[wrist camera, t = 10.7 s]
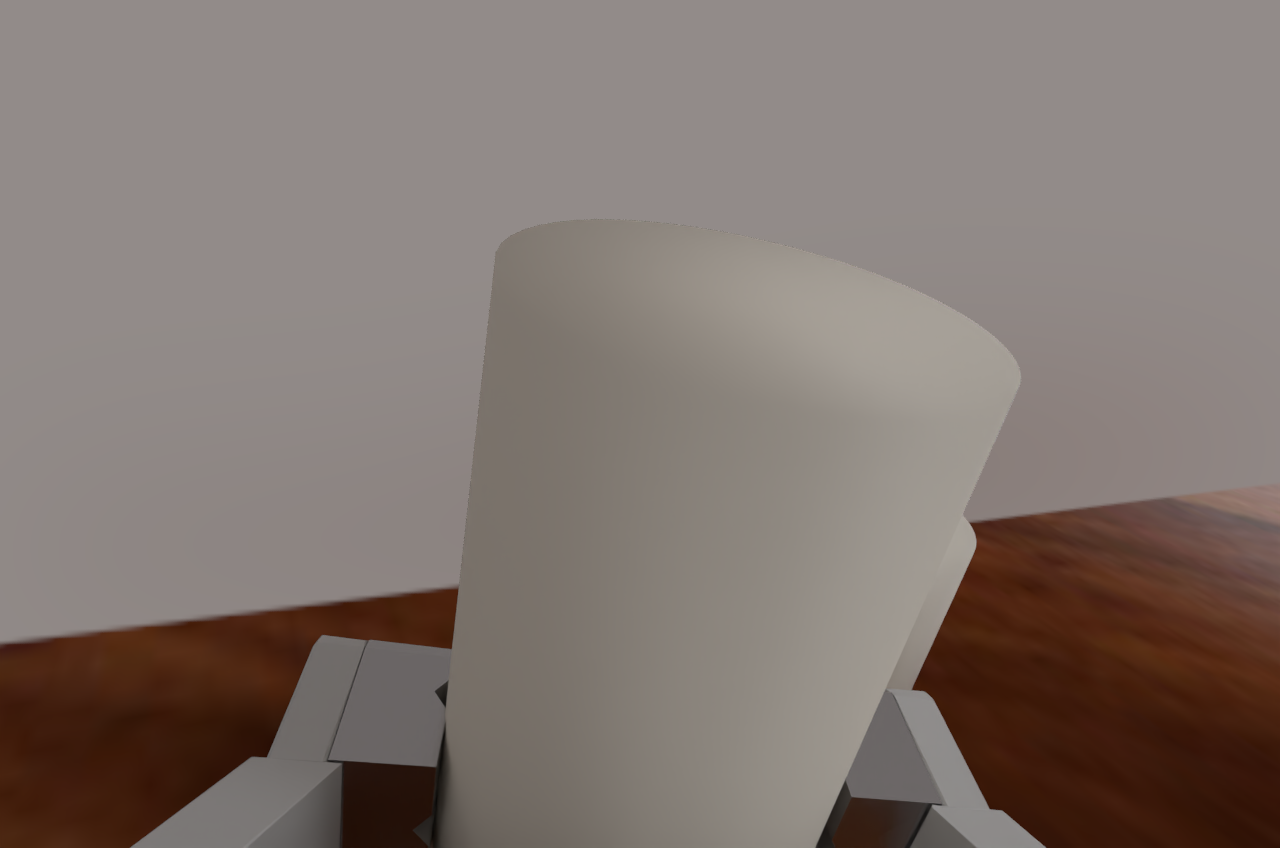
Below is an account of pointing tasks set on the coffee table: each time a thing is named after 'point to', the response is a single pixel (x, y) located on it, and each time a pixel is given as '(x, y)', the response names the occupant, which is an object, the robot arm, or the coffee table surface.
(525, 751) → the ivory pin
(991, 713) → the coffee table surface
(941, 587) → the pin board
